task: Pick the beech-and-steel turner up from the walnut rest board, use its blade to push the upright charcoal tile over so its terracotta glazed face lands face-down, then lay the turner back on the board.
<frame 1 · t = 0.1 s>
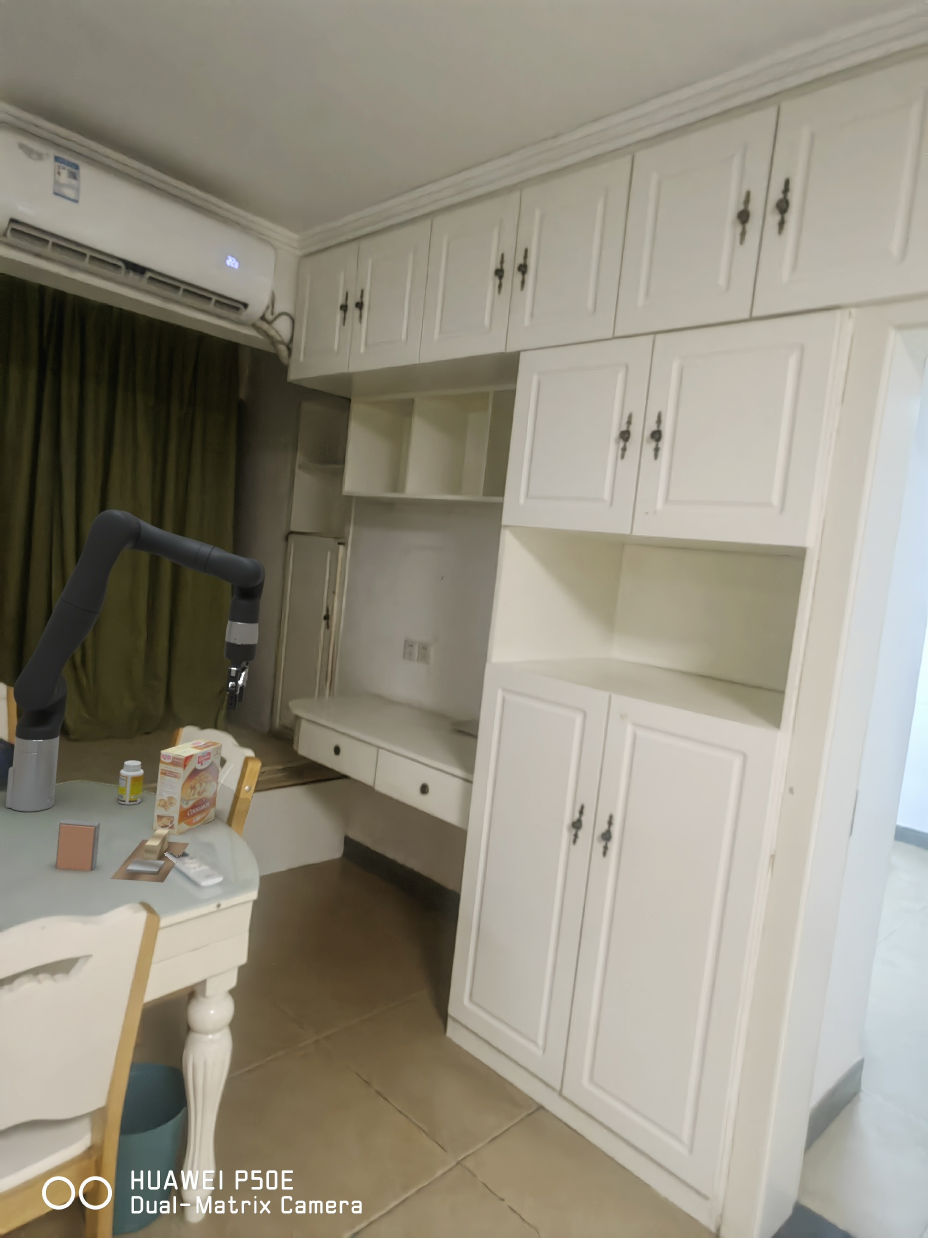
hand: (234, 705, 183), 29 cm above the table, tool pointing down, fingers open, 8 cm apart
glazed tile: (75, 871, 150), on the table
supplement bottle: (129, 802, 191), on the table
turner: (149, 863, 156), point 1 cm above the table, touching rest board
coffeecake box: (184, 826, 180), on the table
rest board: (152, 863, 158), on the table
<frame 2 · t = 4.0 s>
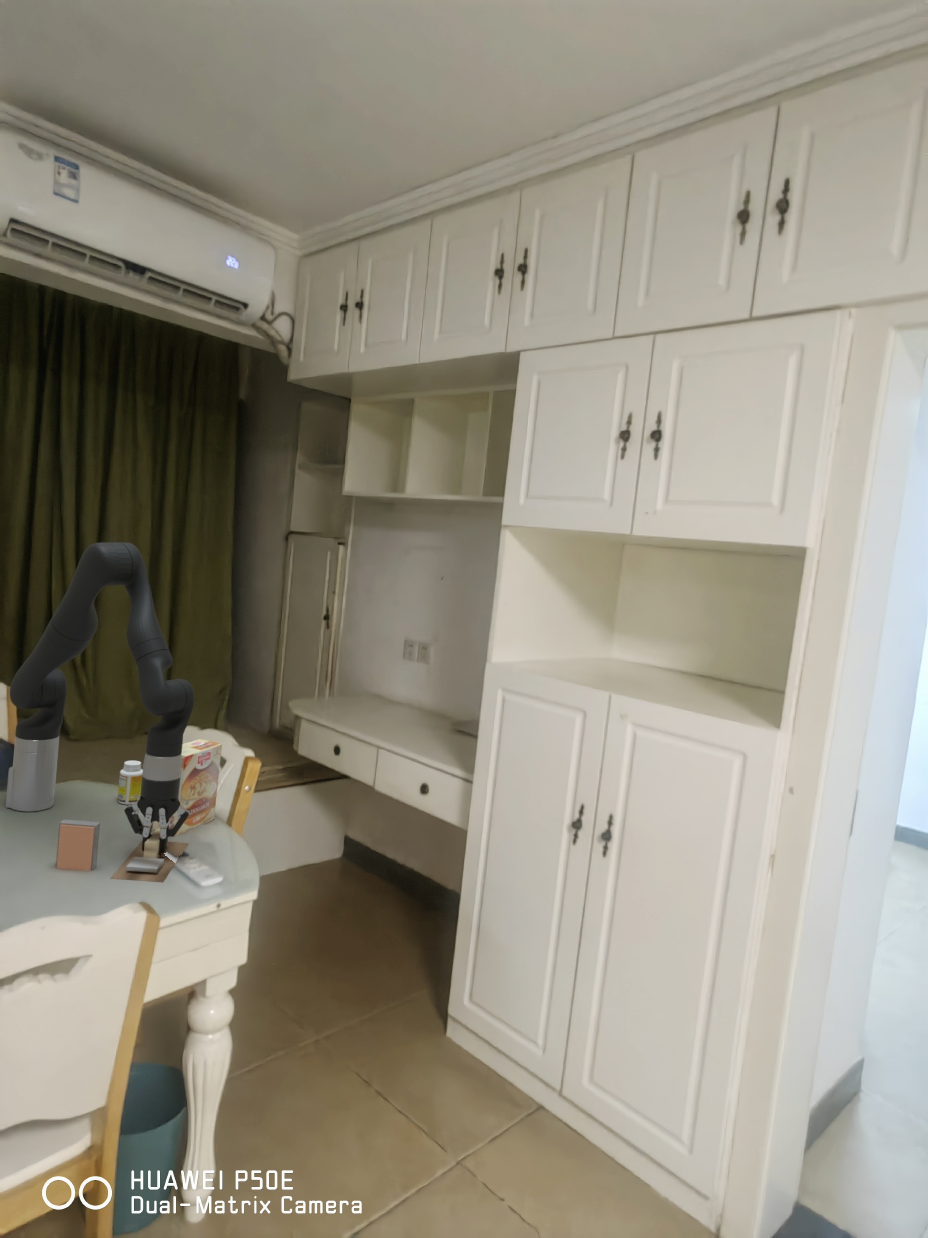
hand: (154, 853, 159), 2 cm above the table, tool pointing down, fingers closed on turner, 2 cm apart
turner: (149, 861, 156), point 1 cm above the table, touching gripper
everything else where it was.
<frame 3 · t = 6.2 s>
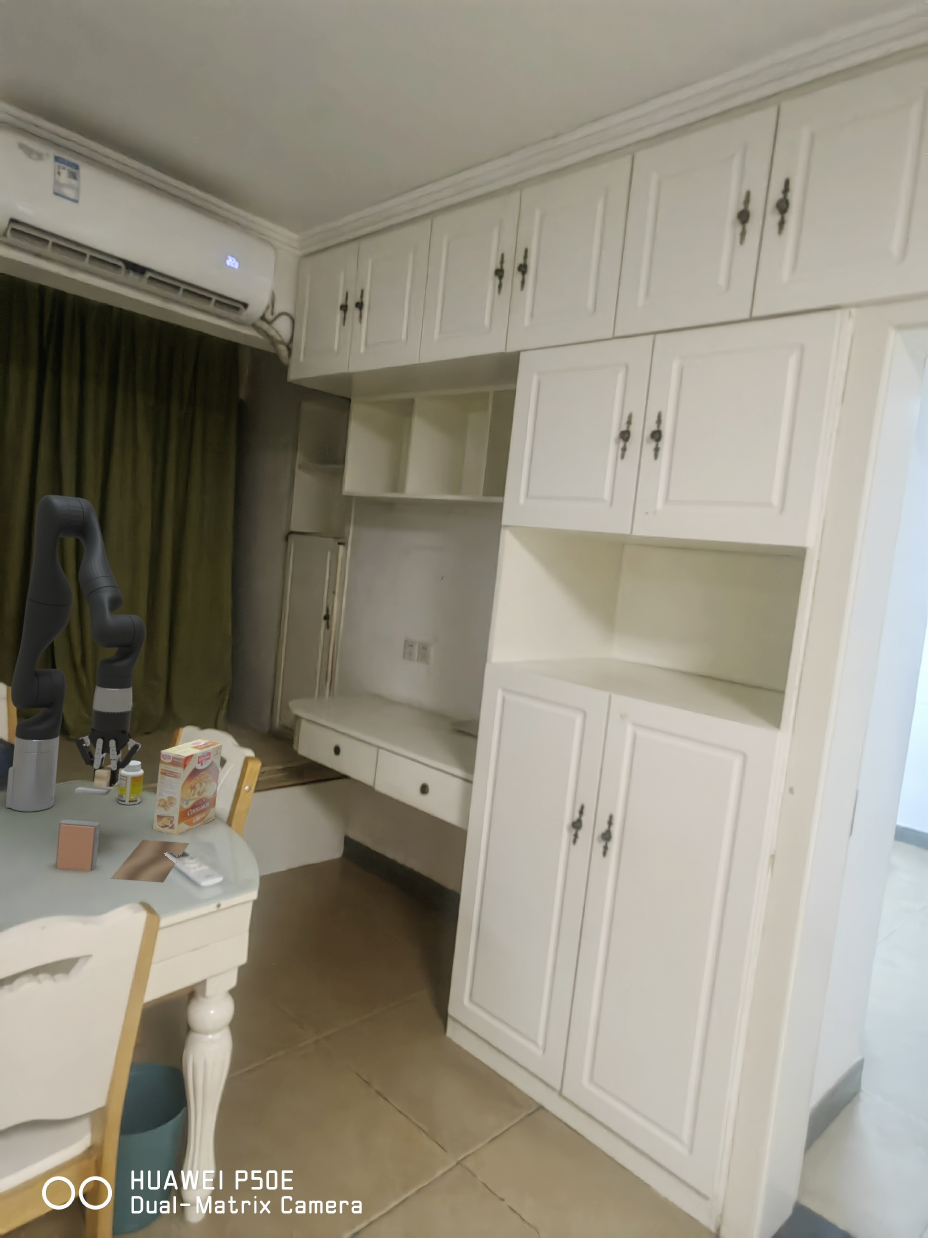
hand: (105, 784, 162), 14 cm above the table, tool pointing down, fingers closed on turner
turner: (98, 790, 158), point 14 cm above the table, tilted 9°, touching gripper
everything else where it was.
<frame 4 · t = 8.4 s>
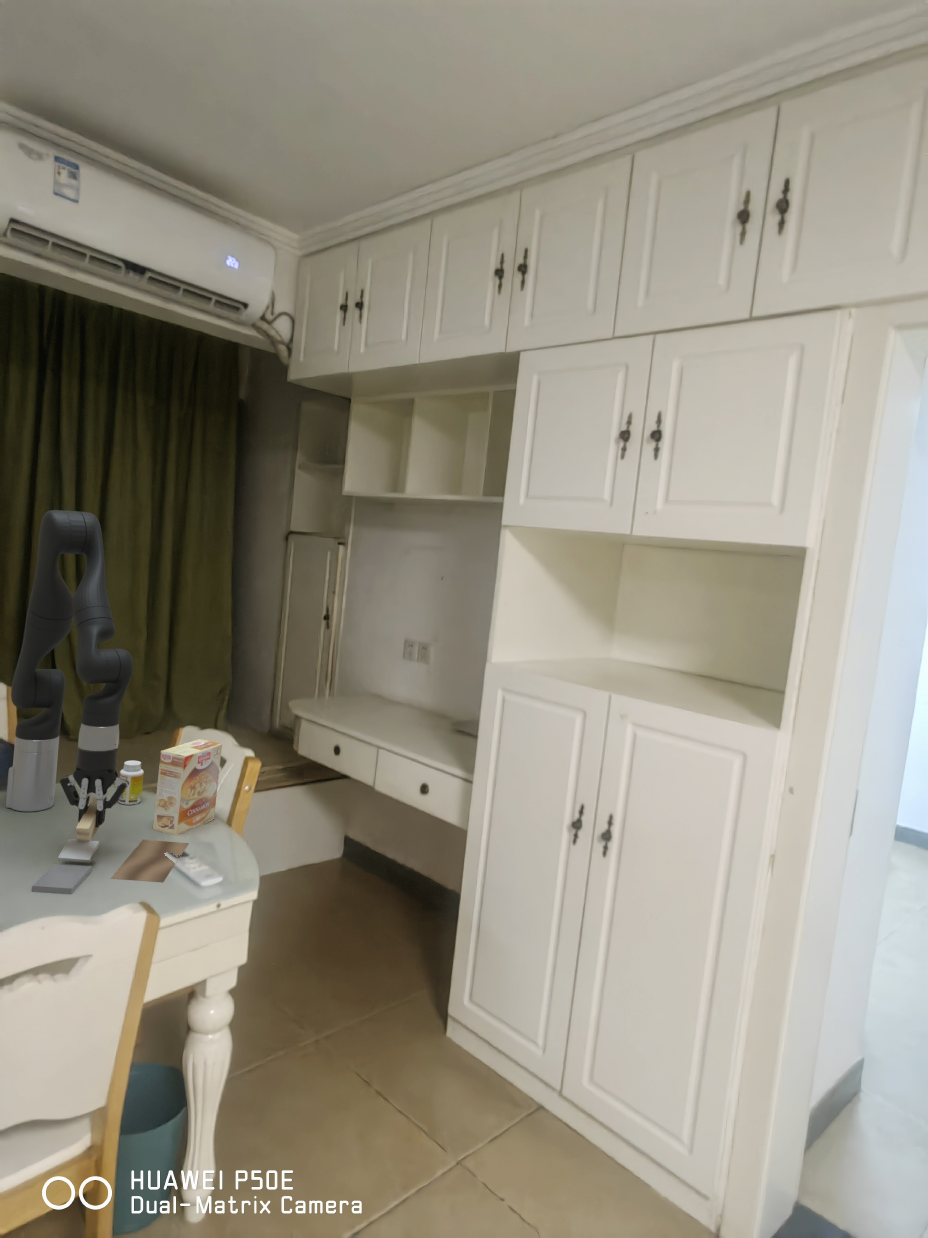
hand: (91, 825, 156), 7 cm above the table, tool pointing down, fingers closed on turner
glazed tile: (73, 869, 149), point 1 cm above the table, tilted 90°
turner: (84, 843, 153), point 5 cm above the table, tilted 24°, touching gripper
everything else where it was.
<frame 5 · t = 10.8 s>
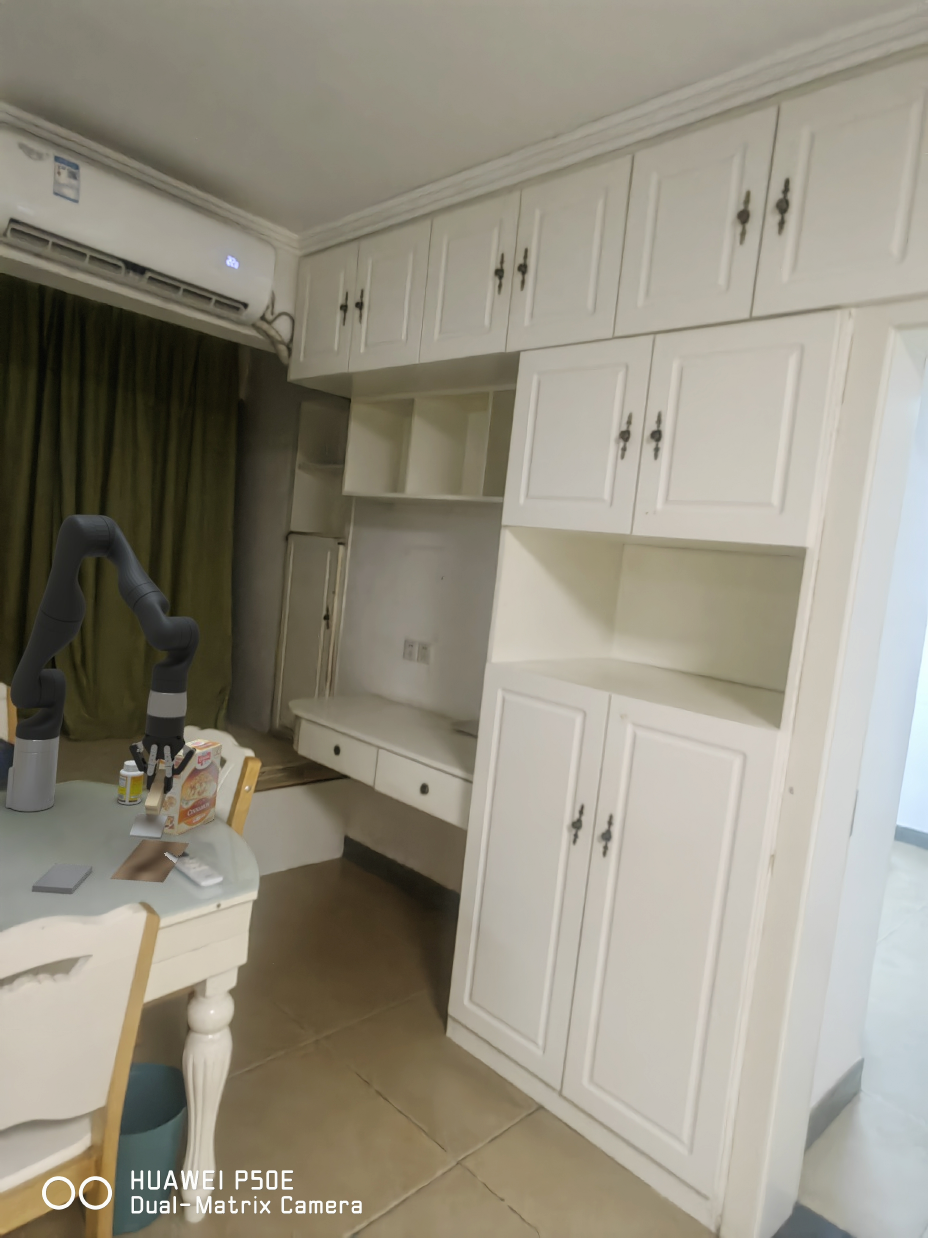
hand: (159, 792, 157), 15 cm above the table, tool pointing down, fingers closed on turner
turner: (152, 816, 155), point 11 cm above the table, tilted 37°, touching gripper
everything else where it was.
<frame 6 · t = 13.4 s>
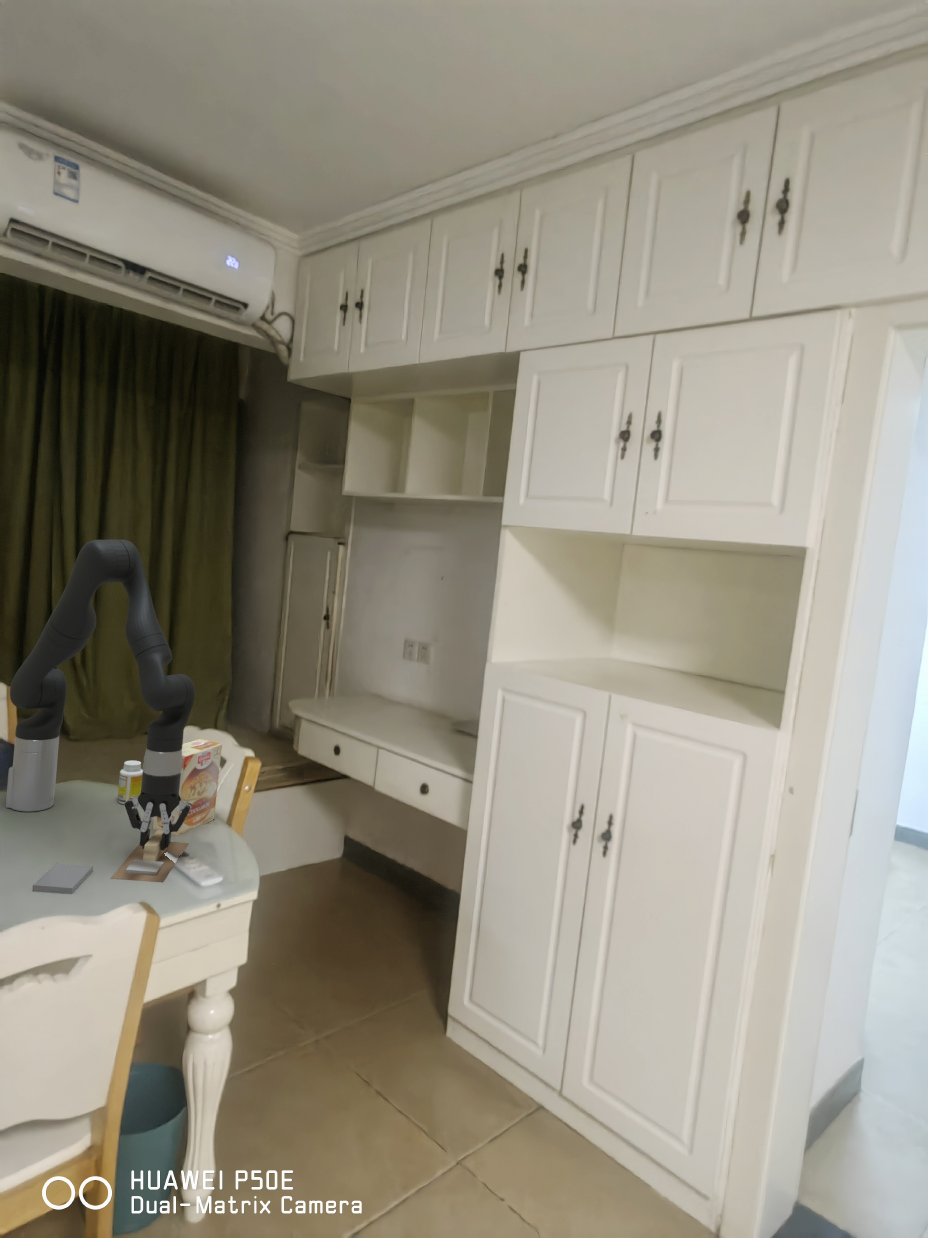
hand: (154, 848, 159), 3 cm above the table, tool pointing down, fingers open, 3 cm apart
turner: (148, 864, 155), point 1 cm above the table, touching rest board
everything else where it was.
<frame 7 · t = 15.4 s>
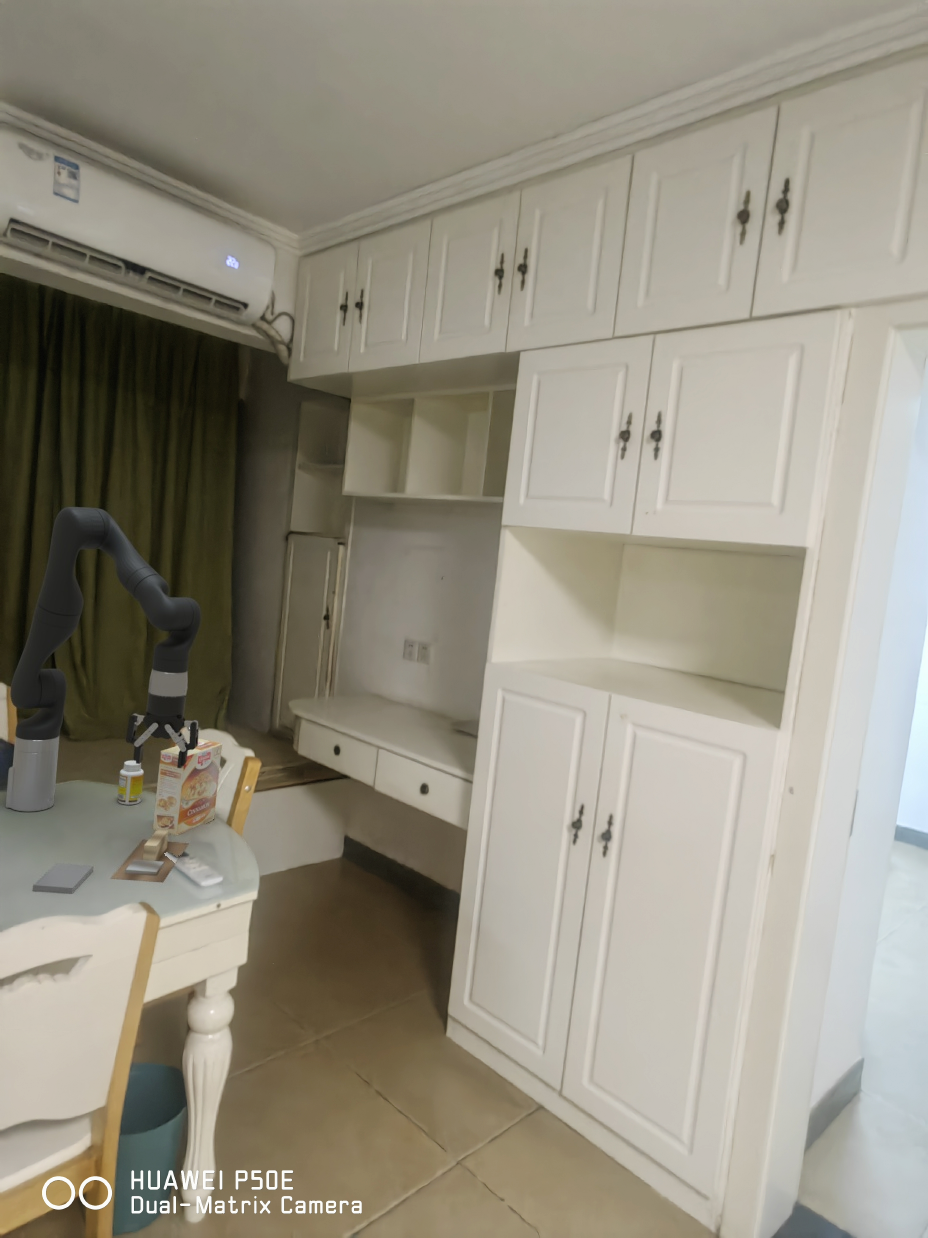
hand: (159, 765, 160), 20 cm above the table, tool pointing down, fingers open, 8 cm apart
nothing on the table moved.
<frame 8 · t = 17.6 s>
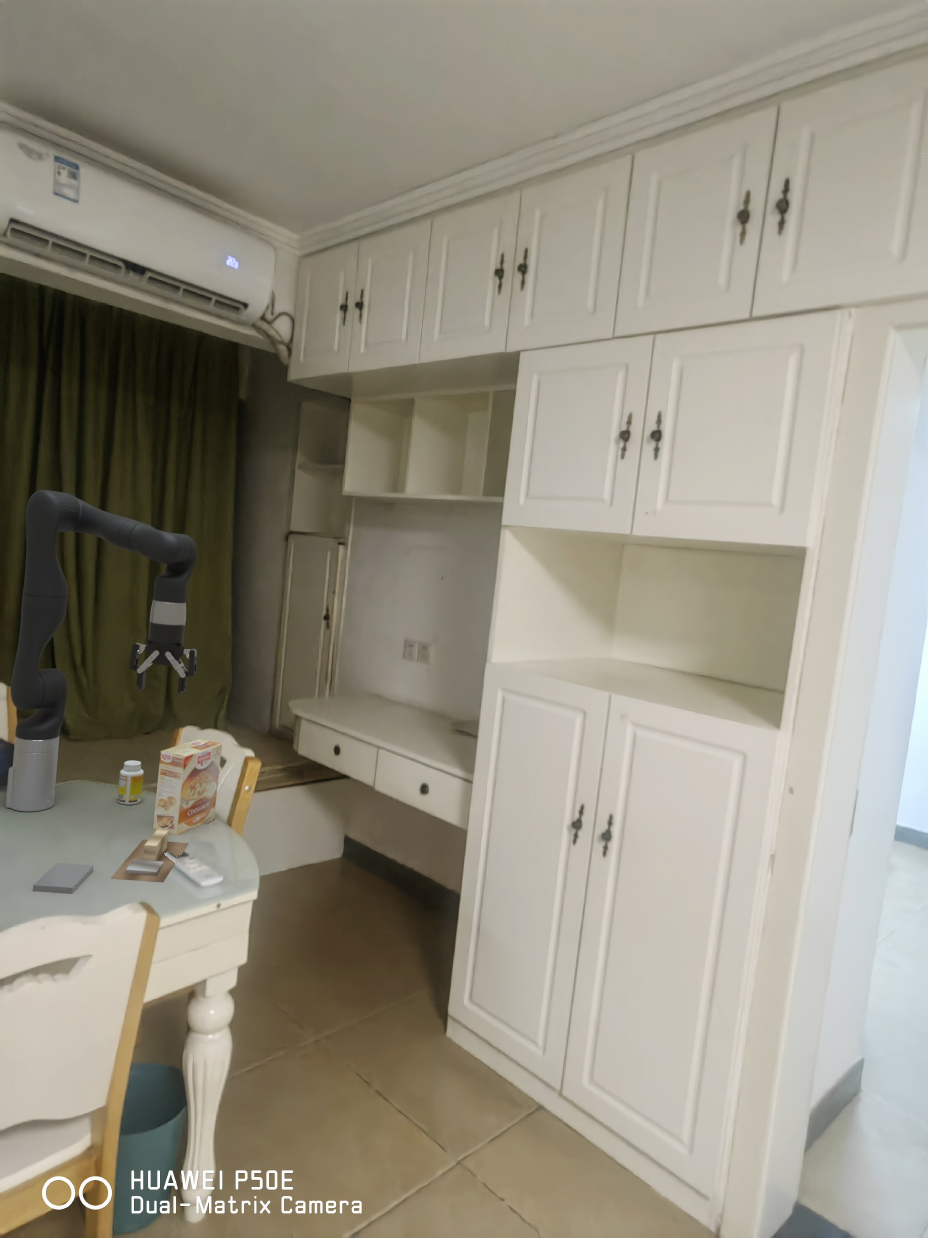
hand: (161, 691, 171), 33 cm above the table, tool pointing down, fingers open, 8 cm apart
nothing on the table moved.
at the end: glazed tile tilted 90°; turner inside the target area on the rest board (1.4 cm from its centre), point 0.8 cm above the rest board's base; the gripper is holding nothing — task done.
